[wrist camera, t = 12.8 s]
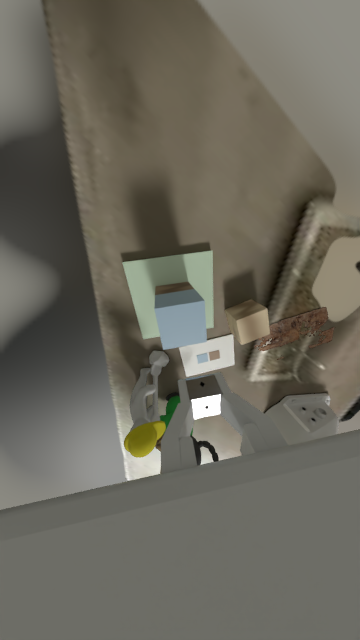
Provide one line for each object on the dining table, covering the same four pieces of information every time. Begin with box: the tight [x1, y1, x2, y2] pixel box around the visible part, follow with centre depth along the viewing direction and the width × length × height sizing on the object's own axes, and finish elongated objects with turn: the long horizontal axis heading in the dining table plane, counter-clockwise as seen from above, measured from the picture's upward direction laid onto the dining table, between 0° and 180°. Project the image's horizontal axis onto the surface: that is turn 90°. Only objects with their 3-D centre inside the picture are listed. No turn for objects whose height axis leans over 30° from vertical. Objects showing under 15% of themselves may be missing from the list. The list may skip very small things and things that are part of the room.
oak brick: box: [225, 299, 270, 345], centre depth 29 cm, size 6×6×5 cm
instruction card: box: [179, 334, 234, 377], centre depth 34 cm, size 12×9×1 cm
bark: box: [255, 307, 335, 360], centre depth 35 cm, size 22×12×1 cm, turn 111°
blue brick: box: [154, 289, 207, 350], centre depth 20 cm, size 6×6×5 cm
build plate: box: [122, 250, 214, 339], centre depth 27 cm, size 14×14×1 cm
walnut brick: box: [155, 282, 194, 295], centre depth 24 cm, size 6×6×5 cm
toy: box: [160, 393, 218, 466], centre depth 33 cm, size 10×11×15 cm
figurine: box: [124, 350, 169, 457], centre depth 27 cm, size 10×9×15 cm
